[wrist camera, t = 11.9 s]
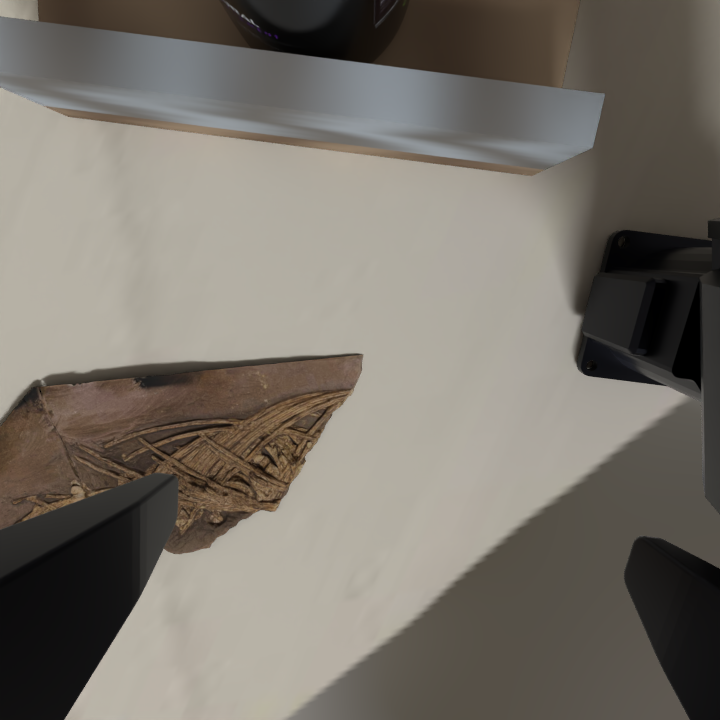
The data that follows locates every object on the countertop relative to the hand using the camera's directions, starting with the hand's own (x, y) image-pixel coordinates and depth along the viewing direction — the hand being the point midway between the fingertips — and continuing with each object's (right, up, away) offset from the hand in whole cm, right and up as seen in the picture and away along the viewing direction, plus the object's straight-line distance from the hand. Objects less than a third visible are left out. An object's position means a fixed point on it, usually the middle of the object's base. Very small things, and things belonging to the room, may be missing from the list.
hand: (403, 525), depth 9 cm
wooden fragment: (-12, -2, +15) cm, 19 cm away
